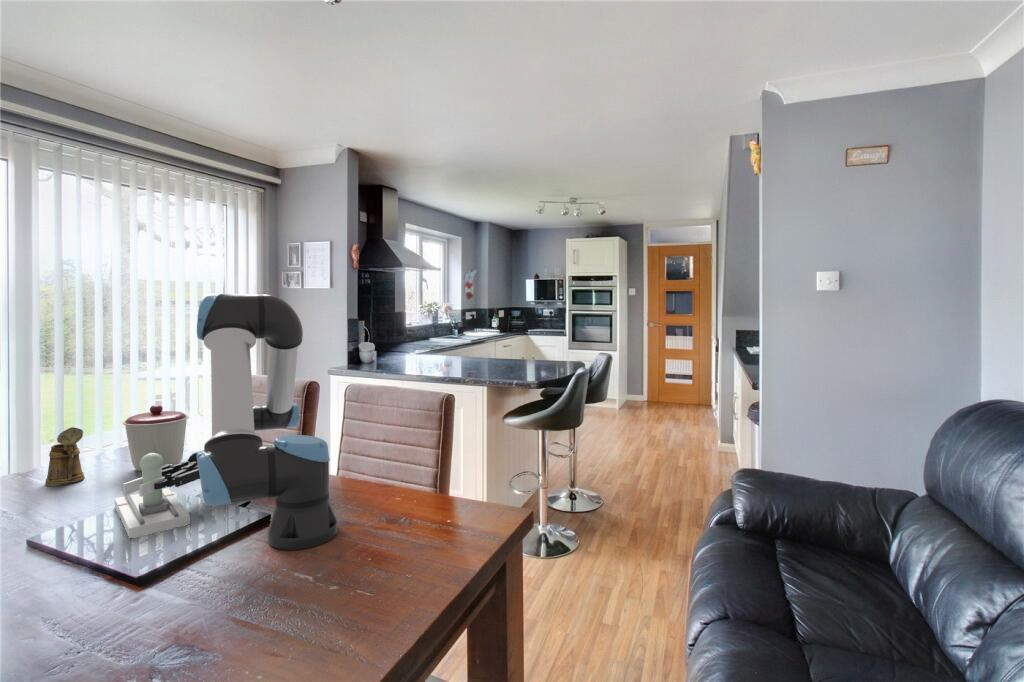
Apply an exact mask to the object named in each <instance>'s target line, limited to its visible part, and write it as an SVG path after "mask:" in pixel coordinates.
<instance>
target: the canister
mask: <svg viewBox="0 0 1024 682" xmlns="http://www.w3.org/2000/svg"><path fill="white" fill-rule="evenodd" d="M189 418H190V417H189V415H188V414H185V413H184V412H181V411H175V410H163V406H161V405H160V404H154V405H151V406H150V407H149V412H144V413H139V414H135V415H131V416H129V417H128V418H126V419H125V420H123V421H122V424H123V426H125V432H126V438H127V444H128V449H129V450H128V451H129V455H130V459H131V463H132V466H133V468H134V469H135V470H136V471H139V472H142V469H141V467H140V461H141V459H142V458H143V457H144V456H145V455H146V454H149V453H157V454H159V455H161V457H162V458H163V465H162V466H165V465H166V464H168V463H172V465H176V464H180V463H181V462H182V460H183V455H184V449H185V439H186V428H187V420H189Z"/></svg>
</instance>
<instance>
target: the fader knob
mask: <svg viewBox="0 0 1024 682" xmlns="http://www.w3.org/2000/svg"><path fill="white" fill-rule="evenodd" d="M162 465H163V458H162V457H161V455H159V454H157V453H149V454H146V455H145V456H144V457H143V458H142V459H141V461H140V467H141V469H142V471H141V474H142V484H144V483H147V482H149V481H152V480H155V479H158V478H160V477H162ZM139 510H140V512H141V514H142V515H146V514H150V513H155V512H160V511H164V510H168V507H167V503H166V501H165V500H164V499H163V496H162V489H160V490H158V491H155V492H153V493H150V494H147V495H145V496H143V503H139Z"/></svg>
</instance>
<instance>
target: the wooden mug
mask: <svg viewBox="0 0 1024 682" xmlns="http://www.w3.org/2000/svg"><path fill="white" fill-rule="evenodd" d="M83 436H84V431H83V429H81V428H77V427H74V426H72V427H69V428H67V429H65V430H63V431H61V432H60V433H59V434H58V435H57V438H56V441H57V443H58V444H54V445H52V446H51V447H50V451H49V454H48V457H49V463H48V468H47V469H48V470H47V475H46V478H45V482H44V484H46V485H45V486H48V487H60V486H67V485H71V484H75V483H79V482H81V481H83V480H84V479H85V474H84V471H83V469H82V464H81V459H80V454H81V451H80V448H79V446H78V444H77V443H78V442H80V440H81V439H83Z"/></svg>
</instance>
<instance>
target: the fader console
mask: <svg viewBox="0 0 1024 682" xmlns="http://www.w3.org/2000/svg"><path fill="white" fill-rule="evenodd" d="M162 496H163V499H164V500H165V501H166V503H167V507H168V510H164V511H160V512H155V513H150V514H146V515H142V514H141V512H140V510H139V503H143V496H142V497H141V496H139V493H135V494H127V495H123V496H119V497H115V498H114V508H116V509H115V511H116V510H117V511H116V513H117V512H118V513H117V515H118V514H119V515H118V517H119V516H120V517H119V519H120V518H121V520H122V522H121V523H123V524H122V526H123V525H124V526H123V528H124V527H125V528H124V530H126V531H125V532H127V533H126V535H127V534H128V535H127V536H129V537H128V539H129V540H131V539H130V538H133V539H136V538H140V536H141V537H145V536H149V535H152V533H153V534H157V533H161V532H160V531H162V532H164V531H163V530H166V531H168V530H167V529H170V528H174V529H176V528H175V527H178V528H180V527H179V526H182V527H185V526H184V525H187V526H189V525H188V524H190V525H191V521H190V519H191V518H190V517H191V516H190V515H191V514H190V513H189V512H188V511H187V509H185V507H184V506H183V505H182V503H181V502H180V501H179V500H178V498H177V497H176V495H175V494H174V493H173V492H172V491H171V490H170V488H169V487H166V488H163V489H162ZM121 520H120V521H121ZM170 530H171V529H170ZM156 532H157V533H156ZM148 534H149V535H148ZM144 535H145V536H144Z"/></svg>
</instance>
